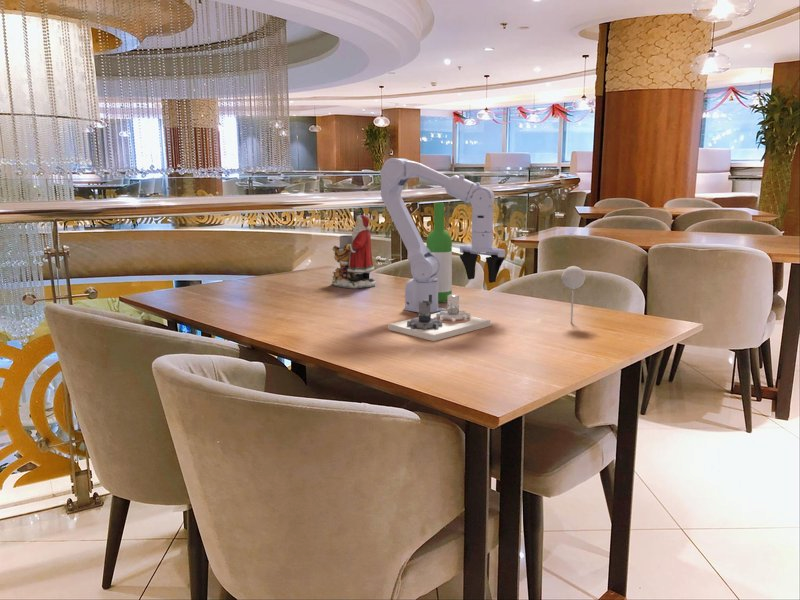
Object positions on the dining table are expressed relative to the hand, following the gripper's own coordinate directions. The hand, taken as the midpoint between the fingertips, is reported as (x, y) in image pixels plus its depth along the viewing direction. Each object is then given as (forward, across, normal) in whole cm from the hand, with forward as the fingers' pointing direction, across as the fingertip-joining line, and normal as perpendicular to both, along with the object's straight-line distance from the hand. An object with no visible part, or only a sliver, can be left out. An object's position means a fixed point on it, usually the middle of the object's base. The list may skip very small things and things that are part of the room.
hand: (481, 280), depth 180 cm
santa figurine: (+10, -62, +4) cm, 63 cm away
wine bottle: (+10, -21, +5) cm, 24 cm away
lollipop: (+10, +24, +8) cm, 27 cm away
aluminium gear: (+8, +3, -15) cm, 17 cm away
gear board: (+9, +3, -20) cm, 22 cm away
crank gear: (+8, +3, -26) cm, 27 cm away
